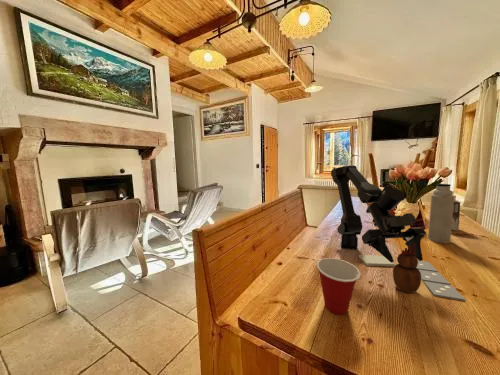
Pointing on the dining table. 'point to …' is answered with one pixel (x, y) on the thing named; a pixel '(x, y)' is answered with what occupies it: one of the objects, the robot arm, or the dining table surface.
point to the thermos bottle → (441, 214)
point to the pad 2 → (433, 277)
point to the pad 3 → (444, 291)
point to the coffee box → (455, 216)
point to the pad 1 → (425, 266)
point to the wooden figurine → (407, 271)
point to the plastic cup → (337, 283)
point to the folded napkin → (375, 260)
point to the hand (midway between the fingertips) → (406, 261)
